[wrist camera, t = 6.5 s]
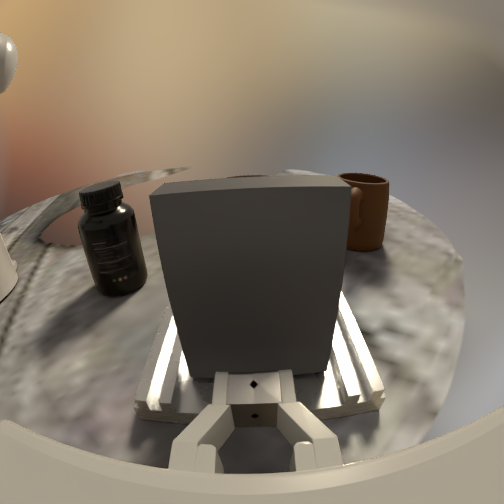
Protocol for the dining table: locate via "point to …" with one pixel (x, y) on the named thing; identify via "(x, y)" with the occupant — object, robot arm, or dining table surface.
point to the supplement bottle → (111, 240)
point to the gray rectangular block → (254, 269)
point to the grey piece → (306, 385)
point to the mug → (366, 210)
